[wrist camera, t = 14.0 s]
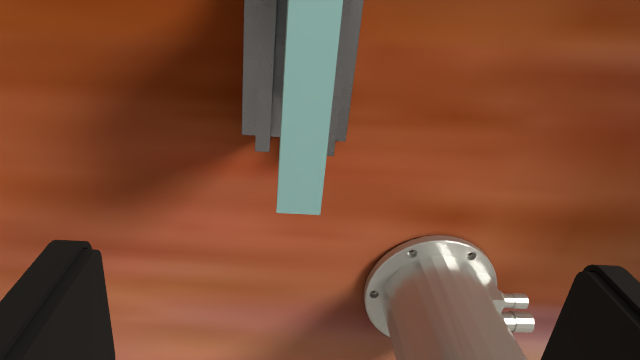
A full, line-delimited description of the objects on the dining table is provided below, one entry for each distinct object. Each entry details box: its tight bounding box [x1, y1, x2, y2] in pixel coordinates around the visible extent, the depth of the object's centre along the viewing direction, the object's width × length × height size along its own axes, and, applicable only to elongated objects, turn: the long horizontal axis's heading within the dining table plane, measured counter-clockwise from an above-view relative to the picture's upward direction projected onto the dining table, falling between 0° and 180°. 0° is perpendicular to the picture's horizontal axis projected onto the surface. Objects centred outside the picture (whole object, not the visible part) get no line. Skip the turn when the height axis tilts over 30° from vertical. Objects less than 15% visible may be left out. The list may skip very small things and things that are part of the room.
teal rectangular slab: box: [277, 0, 343, 215], centre depth 25 cm, size 2×10×15 cm, turn 175°
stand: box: [242, 0, 364, 156], centre depth 31 cm, size 8×14×4 cm, turn 174°
